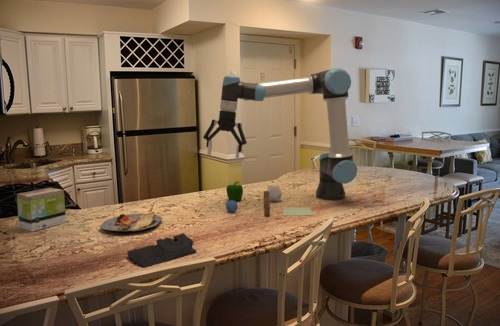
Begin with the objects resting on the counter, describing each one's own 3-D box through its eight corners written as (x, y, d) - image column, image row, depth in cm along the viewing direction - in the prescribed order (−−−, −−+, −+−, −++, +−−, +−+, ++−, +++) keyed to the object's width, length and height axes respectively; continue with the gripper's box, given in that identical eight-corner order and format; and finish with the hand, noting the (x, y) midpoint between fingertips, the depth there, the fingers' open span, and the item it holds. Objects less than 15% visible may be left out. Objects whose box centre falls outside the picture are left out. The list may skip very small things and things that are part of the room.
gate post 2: (269, 215, 180) (269, 197, 178) (270, 216, 177) (269, 198, 176) (264, 215, 180) (263, 197, 178) (264, 216, 177) (264, 199, 176)
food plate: (115, 217, 180) (115, 210, 179) (167, 217, 179) (167, 209, 178) (92, 236, 155) (91, 227, 155) (152, 236, 154) (151, 227, 154)
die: (277, 205, 198) (286, 188, 200) (262, 196, 199) (271, 179, 201) (275, 206, 206) (285, 190, 208) (261, 198, 207) (270, 182, 209)
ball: (238, 210, 187) (237, 198, 187) (237, 213, 182) (237, 202, 181) (226, 210, 188) (226, 199, 187) (225, 213, 182) (225, 202, 181)
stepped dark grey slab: (122, 256, 135) (121, 243, 135) (179, 241, 149) (178, 229, 149) (141, 271, 124) (140, 256, 123) (202, 253, 138) (201, 239, 137)
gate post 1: (269, 207, 192) (269, 191, 191) (269, 208, 189) (269, 192, 188) (263, 207, 192) (263, 191, 191) (263, 208, 189) (263, 192, 188)
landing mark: (309, 207, 190) (309, 207, 190) (313, 215, 178) (313, 215, 178) (282, 207, 191) (282, 207, 191) (284, 215, 178) (284, 215, 178)
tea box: (32, 232, 160) (29, 196, 158) (19, 228, 165) (15, 193, 163) (67, 222, 173) (64, 189, 170) (53, 219, 178) (50, 186, 176)
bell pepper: (223, 201, 204) (222, 182, 202) (231, 198, 211) (231, 179, 210) (237, 203, 200) (237, 183, 198) (245, 199, 207) (245, 180, 206)
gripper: (199, 107, 182) (194, 153, 184) (252, 113, 175) (246, 161, 178) (205, 107, 189) (200, 152, 192) (256, 114, 183) (251, 160, 186)
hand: (222, 157), depth 185 cm, fingers open, 13 cm apart
